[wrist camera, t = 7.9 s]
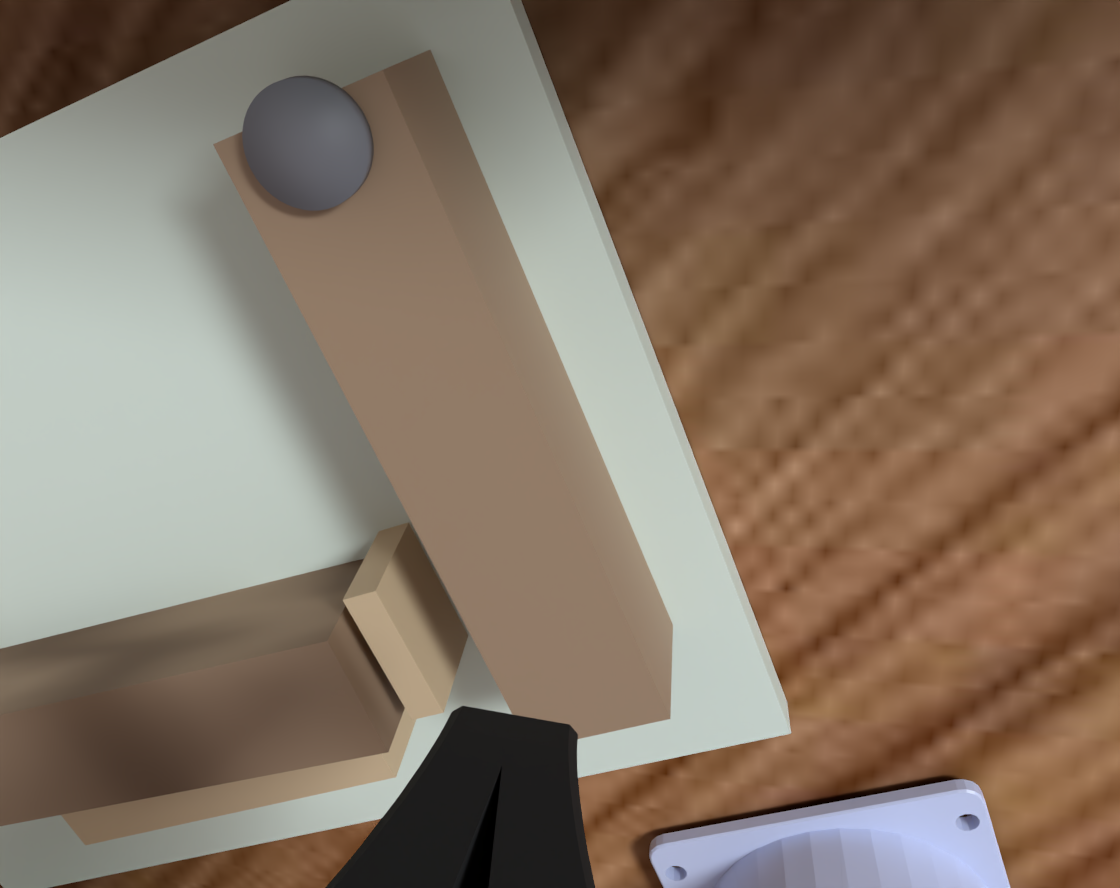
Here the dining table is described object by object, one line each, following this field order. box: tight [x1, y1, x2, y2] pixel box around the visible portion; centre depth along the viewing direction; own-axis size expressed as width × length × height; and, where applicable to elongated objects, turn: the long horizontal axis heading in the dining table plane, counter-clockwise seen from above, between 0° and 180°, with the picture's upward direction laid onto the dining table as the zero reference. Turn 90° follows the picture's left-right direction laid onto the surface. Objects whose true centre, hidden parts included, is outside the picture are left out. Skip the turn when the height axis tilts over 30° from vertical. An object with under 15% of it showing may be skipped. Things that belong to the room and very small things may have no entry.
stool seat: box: [0, 0, 791, 888], centre depth 20 cm, size 17×22×4 cm
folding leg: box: [0, 559, 405, 826], centre depth 21 cm, size 12×3×3 cm, turn 110°
